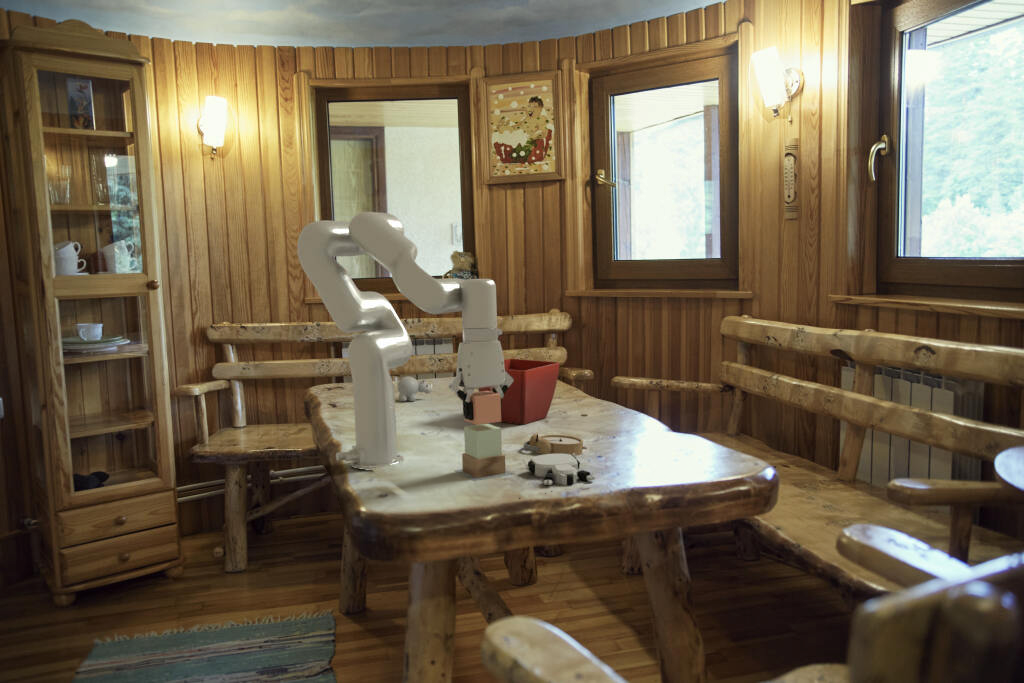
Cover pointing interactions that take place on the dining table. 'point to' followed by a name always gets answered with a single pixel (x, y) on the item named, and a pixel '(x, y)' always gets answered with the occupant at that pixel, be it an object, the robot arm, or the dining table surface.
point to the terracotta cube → (486, 407)
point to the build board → (481, 477)
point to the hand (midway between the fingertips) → (482, 416)
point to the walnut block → (483, 465)
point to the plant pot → (528, 390)
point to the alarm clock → (555, 444)
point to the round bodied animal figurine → (411, 388)
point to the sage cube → (483, 441)
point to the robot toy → (558, 469)
